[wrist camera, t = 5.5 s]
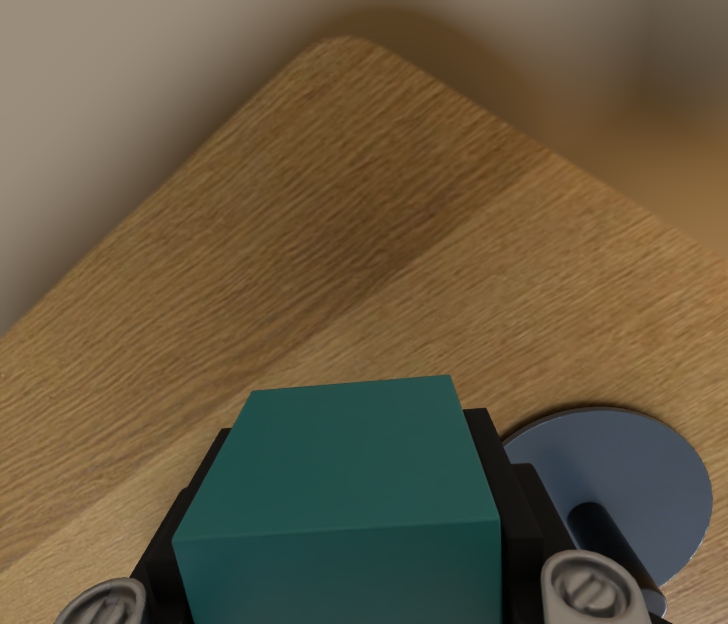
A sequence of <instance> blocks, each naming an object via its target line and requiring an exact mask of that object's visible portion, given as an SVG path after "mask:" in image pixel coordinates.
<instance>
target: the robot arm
mask: <svg viewBox="0 0 728 624" xmlns="http://www.w3.org/2000/svg"><path fill="white" fill-rule="evenodd" d="M463 413H464V416H465V419H466V421H467V424H468V427H469V430H470V433H471V436H472V439H473V442H474V444H475V447H476V450H477V453H478V456H479V459H480V462H481V464H482V467H483V470H484V473H485V476H486V479H487V482H488V485H489V487H490V490H491V493H492V496H493V499H494V502H495V505H496V507H497V510H498V513H499V516H500V523H501V572H502V620H503V624H672V623H670V622H668V621H666V620H664V619H663V618H661V617H659V616H657V615H655V614H653V613H651V612H650V611H648V610H647V607H646V604H645V601H644V598H643V595H642V592H641V590H640V588H639V586H638V584H637V582H636V580H635V579H634V578H633V577H632V576H631V575H630V574H629V572H628V571H627V570H626V569H625V568H623V567H622V566H621V565H619V564H618V563H616V562H615V561H613V560H612V559H610V558H608V557H605V556H603V555H601V554H598V553H595V552H590V551H586V550H577V548H576V547H575V545H574V543H573V541H572V539H571V537H570V535H569V533H568V531H567V529H566V527H565V525H564V523H563V521H562V519H561V518H560V516H559V514H558V512H557V510H556V508H555V506H554V504H553V502H552V500H551V498H550V496H549V494H548V492H547V490H546V489H545V487H544V485H543V483H542V481H541V479H540V477H539V475H538V473H537V471H536V469H535V468H534V466H533V465H532V464H531V463H518V464H511V463H510V460H509V458H508V456H507V454H506V451H505V449H504V447H503V445H502V442H501V440H500V438H499V436H498V433H497V431H496V429H495V427H494V424H493V422H492V420H491V418H490V415H489V413H488V411H487V409H486V408H476V409H464V410H463ZM231 429H232V428H223V429H221V430H220V432H219V434H218V435H217V437H216V439H215V441H214V442H213V444H212V446H211V447H210V449H209V451H208V453H207V454H206V456H205V458H204V459H203V461H202V463H201V465H200V466H199V468H198V470H197V471H196V473H195V475H194V477H193V478H192V480H191V482H190V484H189V485H188V487H186V488H184V489H182V491H181V492H180V493H179V495H178V496H177V498H176V500H175V501H174V503H173V505H172V506H171V508H170V510H169V511H168V513H167V515H166V517H165V518H164V520H163V522H162V523H161V525H160V527H159V528H158V530H157V532H156V533H155V535H154V537H153V538H152V540H151V542H150V543H149V545H148V547H147V548H146V550H145V552H144V554H143V555H142V557H141V559H140V560H139V562H138V564H137V565H136V567H135V569H134V570H133V572H132V574H131V575H130V577H129V578H126V577H123V578H115V579H110V580H107V581H104V582H101V583H99V584H97V585H95V586H93V587H91V588H89V589H87V590H86V591H84V592H83V593H81V594H80V595H79V596H77V597H76V598H75V599H73V600H72V601H71V602H70V603H69V604H68V605H67V606H66V607H65V608H64V609H63V610H62V611H61V612H60V614H59V615H58V617H57V619H56V620H55V622H54V624H194V621H193V618H192V614H191V610H190V607H189V603H188V600H187V596H186V592H185V589H184V585H183V581H182V578H181V574H180V570H179V567H178V563H177V560H176V556H175V552H174V549H173V545H172V538H173V536H174V534H175V532H176V530H177V528H178V527H179V525H180V523H181V521H182V519H183V517H184V516H185V514H186V512H187V510H188V508H189V506H190V505H191V503H192V501H193V499H194V497H195V495H196V493H197V492H198V490H199V488H200V486H201V484H202V482H203V481H204V479H205V477H206V475H207V473H208V471H209V469H210V468H211V466H212V464H213V462H214V460H215V458H216V457H217V455H218V453H219V451H220V449H221V447H222V445H223V444H224V442H225V440H226V438H227V436H228V434H229V433H230V431H231Z"/></svg>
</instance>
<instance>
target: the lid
mask: <svg viewBox="0 0 728 624" xmlns="http://www.w3.org/2000/svg"><path fill="white" fill-rule="evenodd" d="M502 445H503V447H504V449H505V451H506V454H507V456H508V458H509V460H510V463H511V464H518V463H531V464H532V465H533V466H534V468H535V469H536V471H537V473H538V475H539V477H540V479H541V481H542V483H543V485H544V487H545V489H546V490H547V492H548V494H549V496H550V498H551V500H552V502H553V504H554V506H555V508H556V510H557V512H558V514H559V516H560V518H561V519H562V521H563V523H564V525H565V527H566V529H567V531H568V533H569V535H570V537H571V539H572V541H573V543H574V545H575V547H576V548H577V550H586V551H590V552H595V553H598V554H601V555H603V556H605V557H608V558H610V559H612V560H613V561H615V562H616V563H618V564H619V565H621V566H622V567H623V568H625V569H626V570H627V571H628V572H629V574H630V575H631V576H632V577H633V578H634V579H635V580H636V582H637V584H638V586H639V588H640V590H641V592H642V595H643V598H644V601H645V604H646V607H647V610H648V611H650V612H651V613H653V614H655V615H657V616H659V617H661V618H662V617H663V615H664V614H665V612H666V609H667V602H666V598H665V597H664V595H663V594H662V592H661V591H660V589H659V587H660V586H662V585H663V584H665V583H666V582H668V581H669V580H670V579H671V578H672V577H674V576H675V575H676V574H677V573H678V572H679V571H680V570H681V569H682V568H683V567H684V566H685V565H686V564H687V563H688V562H689V561H690V559H691V558H692V557H693V555H694V554H695V552H696V551H697V550H698V548H699V546H700V544H701V542H702V541H703V539H704V537H705V534H706V531H707V529H708V526H709V523H710V518H711V513H712V500H713V497H712V488H711V483H710V479H709V476H708V472H707V470H706V468H705V466H704V464H703V462H702V460H701V458H700V457H699V455H698V454H697V452H696V451H695V450H694V448H693V447H692V446H691V445H690V444H689V443H688V442H687V441H686V440H685V439H684V438H683V437H682V436H681V435H680V434H679V433H677V432H676V431H674V430H673V429H672V428H670V427H669V426H668V425H666V424H664V423H662V422H660V421H659V420H657V419H655V418H653V417H650V416H647V415H645V414H642V413H639V412H635V411H631V410H627V409H622V408H613V407H584V408H577V409H570V410H566V411H562V412H558V413H554V414H552V415H549V416H546V417H543V418H541V419H538V420H536V421H534V422H532V423H530V424H528V425H526V426H524V427H523V428H521V429H520V430H518V431H517V432H515V433H513V434H512V435H510V436H509V437H508V438H507V439H506V440H504V441H503V442H502Z"/></svg>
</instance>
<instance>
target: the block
mask: <svg viewBox="0 0 728 624" xmlns="http://www.w3.org/2000/svg"><path fill="white" fill-rule="evenodd" d="M172 545H173V549H174V552H175V556H176V560H177V563H178V567H179V570H180V574H181V578H182V581H183V585H184V589H185V592H186V596H187V600H188V603H189V607H190V610H191V614H192V618H193V621H194V624H503V620H502V572H501V523H500V516H499V513H498V510H497V507H496V505H495V502H494V499H493V496H492V493H491V490H490V487H489V485H488V482H487V479H486V476H485V473H484V470H483V467H482V464H481V462H480V459H479V456H478V453H477V450H476V447H475V444H474V442H473V439H472V436H471V433H470V430H469V427H468V424H467V421H466V419H465V416H464V413H463V410H462V407H461V404H460V401H459V399H458V396H457V393H456V390H455V387H454V384H453V381H452V378H451V376H450V375H438V376H426V377H414V378H402V379H390V380H378V381H366V382H353V383H341V384H329V385H317V386H305V387H293V388H281V389H269V390H257V391H252V392H251V394H250V396H249V398H248V399H247V401H246V403H245V405H244V407H243V409H242V410H241V412H240V414H239V416H238V418H237V420H236V422H235V423H234V425H233V427H232V429H231V431H230V433H229V434H228V436H227V438H226V440H225V442H224V444H223V445H222V447H221V449H220V451H219V453H218V455H217V457H216V458H215V460H214V462H213V464H212V466H211V468H210V469H209V471H208V473H207V475H206V477H205V479H204V481H203V482H202V484H201V486H200V488H199V490H198V492H197V493H196V495H195V497H194V499H193V501H192V503H191V505H190V506H189V508H188V510H187V512H186V514H185V516H184V517H183V519H182V521H181V523H180V525H179V527H178V528H177V530H176V532H175V534H174V536H173V538H172Z"/></svg>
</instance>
